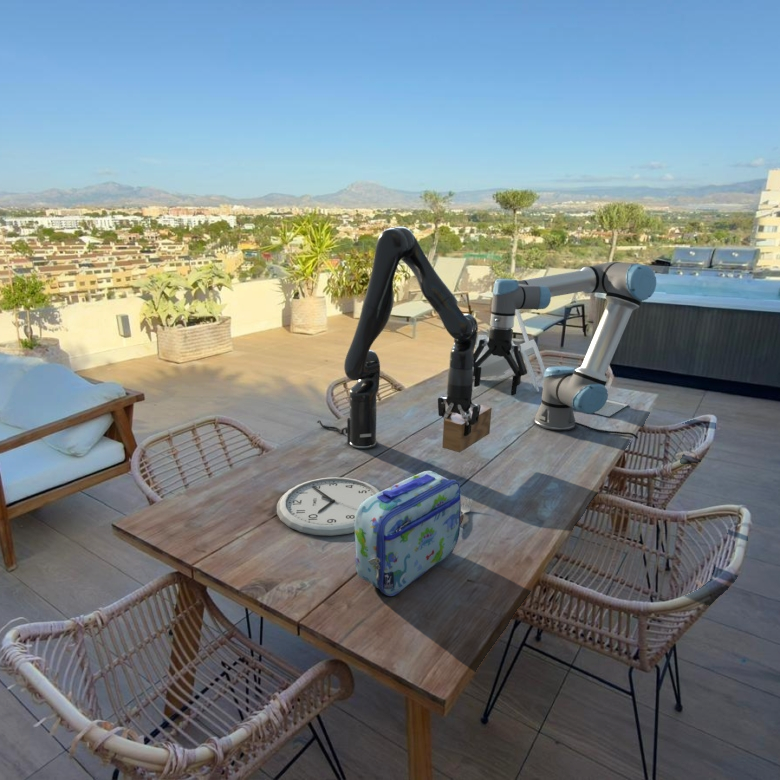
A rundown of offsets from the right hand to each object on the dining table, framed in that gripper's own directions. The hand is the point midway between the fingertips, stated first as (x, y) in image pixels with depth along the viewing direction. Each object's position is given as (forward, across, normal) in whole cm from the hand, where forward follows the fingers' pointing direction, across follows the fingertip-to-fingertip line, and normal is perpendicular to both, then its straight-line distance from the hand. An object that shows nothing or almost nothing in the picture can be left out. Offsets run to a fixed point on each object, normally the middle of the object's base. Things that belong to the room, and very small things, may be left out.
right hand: (494, 390), depth 176 cm
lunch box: (+22, +18, -72) cm, 78 cm away
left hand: (+9, -1, -21) cm, 23 cm away
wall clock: (+23, -15, -63) cm, 68 cm away
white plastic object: (+20, -30, +72) cm, 81 cm away
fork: (+22, +16, -46) cm, 54 cm away
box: (+14, -1, -14) cm, 20 cm away
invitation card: (+19, +17, +72) cm, 76 cm away
